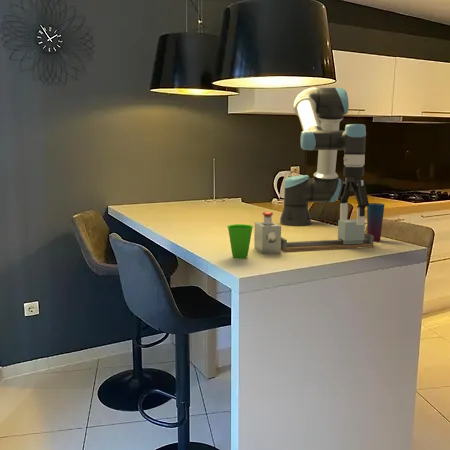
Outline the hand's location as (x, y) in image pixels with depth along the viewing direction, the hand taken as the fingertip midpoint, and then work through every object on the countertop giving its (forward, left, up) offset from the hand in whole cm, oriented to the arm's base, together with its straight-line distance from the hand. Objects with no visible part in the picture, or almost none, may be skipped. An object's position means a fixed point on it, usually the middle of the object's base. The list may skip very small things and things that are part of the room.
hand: (351, 222), depth 190 cm
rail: (0, -10, -10) cm, 14 cm away
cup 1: (+8, -46, -10) cm, 48 cm away
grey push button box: (0, -33, -10) cm, 35 cm away
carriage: (0, 0, -8) cm, 8 cm away
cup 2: (-9, +15, -10) cm, 20 cm away
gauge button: (0, -33, -3) cm, 34 cm away
